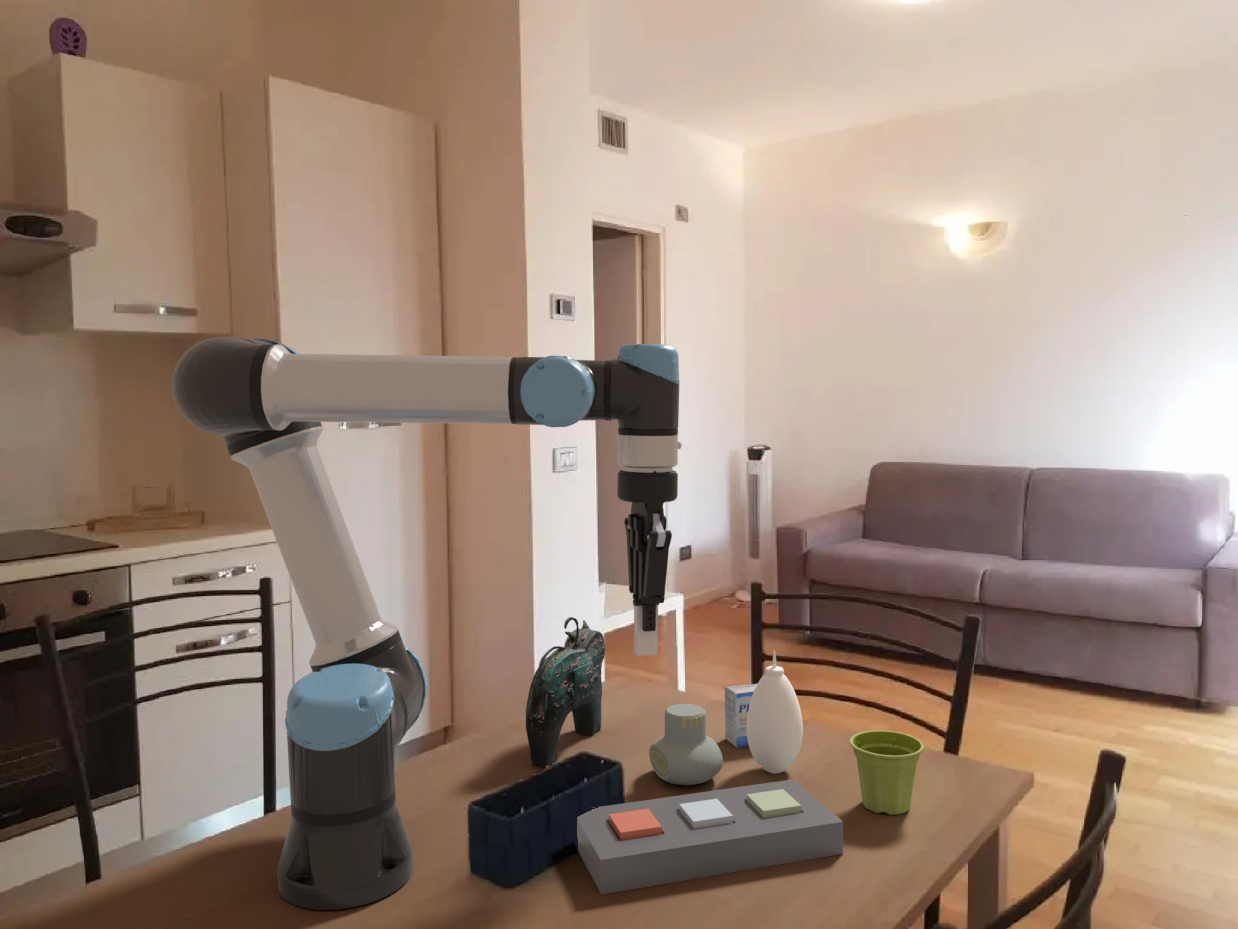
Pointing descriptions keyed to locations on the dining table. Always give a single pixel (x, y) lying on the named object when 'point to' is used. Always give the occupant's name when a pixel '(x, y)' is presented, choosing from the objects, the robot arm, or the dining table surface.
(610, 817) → the red button
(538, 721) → the dark green metal figure
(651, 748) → the air freshener
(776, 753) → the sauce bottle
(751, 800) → the green button
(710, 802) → the white button
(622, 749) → the dining table surface
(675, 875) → the button panel
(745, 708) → the medicine box
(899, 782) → the plant pot
